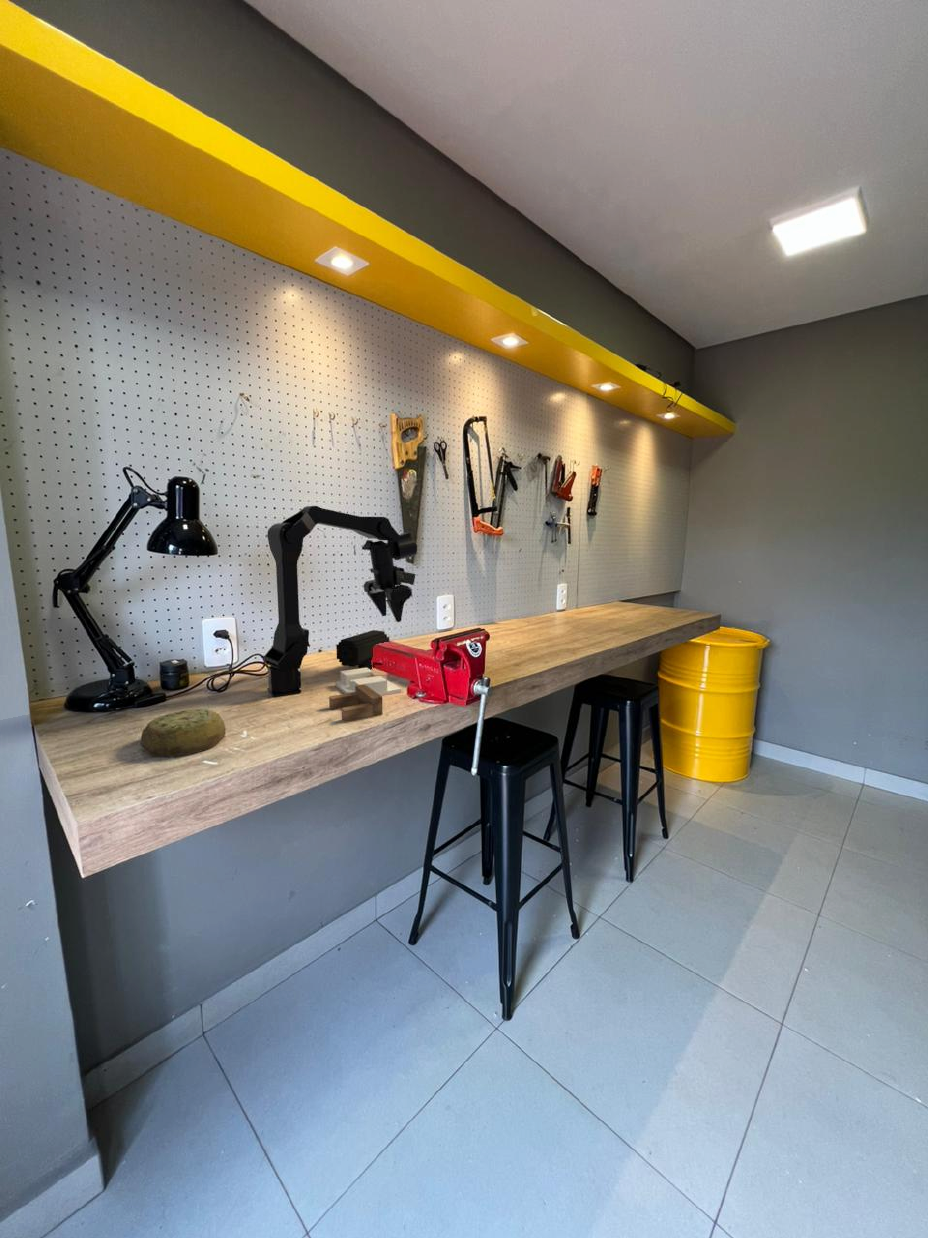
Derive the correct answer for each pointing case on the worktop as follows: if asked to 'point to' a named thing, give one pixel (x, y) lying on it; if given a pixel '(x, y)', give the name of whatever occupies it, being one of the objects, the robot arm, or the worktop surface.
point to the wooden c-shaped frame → (366, 681)
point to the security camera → (360, 648)
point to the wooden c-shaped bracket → (357, 703)
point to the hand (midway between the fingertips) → (391, 618)
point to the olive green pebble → (183, 732)
